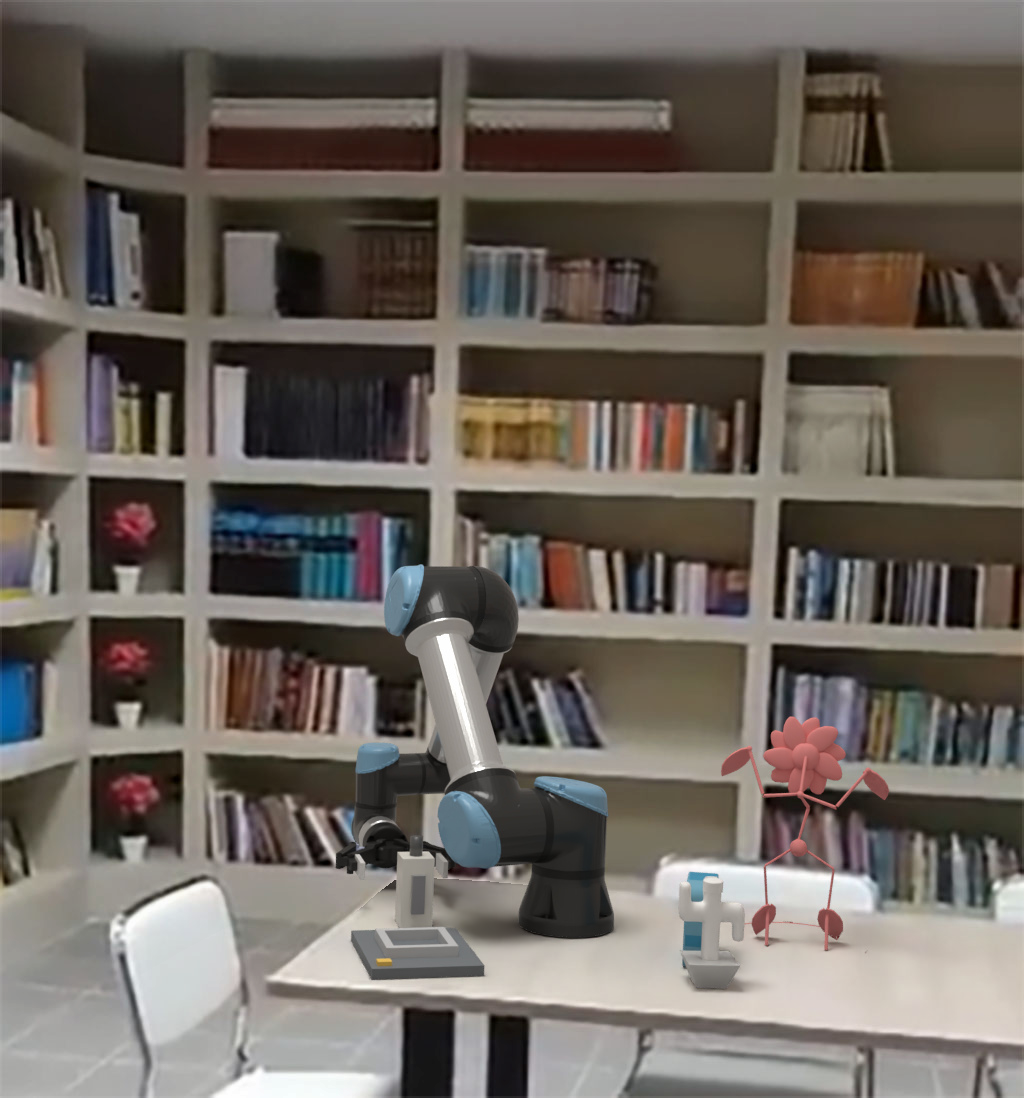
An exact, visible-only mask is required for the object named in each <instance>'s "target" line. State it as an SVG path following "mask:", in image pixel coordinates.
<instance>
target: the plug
mask: <svg viewBox="0 0 1024 1098" xmlns="http://www.w3.org/2000/svg"><path fill="white" fill-rule="evenodd" d="M409 838H410V839H409V842H410V852H397V865H396V883H395V884H396V885H395V908H394V909H395V911H394V912H395V913H394V922H395V924H396V925H397V928H421V927H433V915H434V913H433V912H434V893H435V892H434V891H435V890H434V889H435V887H434V886H435V884H434V883H435V882H434V881H435V867H434V865H435V858H434V857H433V856H432V855H431V854H430V852H429V851H428V852H423V841H424V835H421V834H411V835H410V837H409Z"/></svg>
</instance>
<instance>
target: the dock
mask: <svg viewBox="0 0 1024 1098" xmlns="http://www.w3.org/2000/svg"><path fill="white" fill-rule="evenodd" d="M350 934H351V935H350V941H351V943H352V945H353V947H354V949H355V951H356V952H357V955H358V956H359V958H360V960H361V963H363V966H364V968H365V969H366V971H367V973H368V976H369V977H370V979H371V980H375V981H376V980H402V979H430V978H431V979H435V978H437V979H439V978H458V977H459V978H463V977H485V964H484V963H483V961H481V959H480V958H479V956H478V955H477V954H476V953H475V951H474V950H473V949H472V947H471V946H470V945H469V943H468V942H467V940H466V939H465V938H464V937H463V935H462V934H461V933H460V931H458V929H457V928H456V927H445V926H432V927H421V928H399V927H394V928H393V927H389V928H387V927H386V928H385V927H384V928H374V929H364V930H363V929H361V930H359V929H358V930H351V933H350Z"/></svg>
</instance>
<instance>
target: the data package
mask: <svg viewBox="0 0 1024 1098" xmlns="http://www.w3.org/2000/svg"><path fill="white" fill-rule="evenodd" d="M707 876H714V877H718V878H719V874H718V873H715V872H714V873H713V872H700V871H699V872H698V871H689V872H688V875H687V879H686V882H689V883H690V885H691V901H692V902H701V901H703V880H704V878H705V877H707ZM682 937H683V940H682V950H684V951H701V941H702V922H687V921H683V936H682ZM681 965H682V966H683V967H685V968H686V965H685V963H684V960H683V958H682V964H681Z"/></svg>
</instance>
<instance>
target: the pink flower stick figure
mask: <svg viewBox="0 0 1024 1098" xmlns="http://www.w3.org/2000/svg"><path fill="white" fill-rule="evenodd" d="M820 724H821V722H820V719H819V718H818V717H815V716H814V717H810V718H808V719H807V720H804V722H803V723H802V724H801V722H800V721H799V719H797V718H796V717H795V716H789V717H788V718H787V719H786V720H785V723H784V724H783V730H782V731H780V730H777V729H774V730H773V731H772V732H771V734H770V740H771V741H770V742H771V745H772V746H773V748H771V749H768V750H766V751H764V753H763V755H762V756H763V759H764V761H765V762H766V763H767V764H768V765H770V766H771V767H773V770H771V774H770V779H771V781H773V782H775V783H780V784H781V783H782V784H784V783H785V784H786V783H788V784H787V789H788V792H786V793H785V792H784V793H783V792H781V793H765V791H764V787H763V784H762V780H761V777H760V774H759V772H758V768H757V764H756V761H755V758H754V755H753V751H752V750H753V747H752V746H751V745H747V746H746V747H741V748H739V749H738V750H736V751H734V752H732V753H731V754H729V756H727V757H726V758H725V759H724V761H723V763H722V764H721V770H720V773H721V777H724V776H728V775H729V774H732V773H734V772H737V771H738V770H740V769H741V768H743V767H744V766H746V764H748V762H749V761H751V766H752V768H753V771H754V774H755V778H756V781H757V785H758V788H759V792H760V794H761V795H762V796H761V797H762V798H776V797H778V798H779V797H780V798H783V797H797V798H798V799H800V800H801V801H802V803H803V805H804V806H805V807H806V808H805V812H804V816H803V819H802V823H801V826H800V829H799V832H798V837H797V838H796V839H794V840H792V841H791V843H790V845H789V849H787V850H786V851H784V852H783V853H781V854H779V855H778V856H776V857H775V858H773V859H771V860H770V861H768V862H767V863H765V864H764V866H763V881H764V898H765V899H764V901H765V904H764V905H762V906H761V907H760V908H759V909H758V910H757V911H756V912H755V913H754V915H753V917H752V918H751V922H746V923H745V922H744V925H750V924H751V927H752V931H753V932H754V934H755V935H756V936H757V935H758V934H760V933H761V932H763V931H764V932H765V933H764V946H769V939H770V938H769V937H770V936H769V934H770V932H769V931H770V925H771V924H782V923H783V924H794V925H802V926H803V925H804V926H811V927H817V928H820V929H821V930H822V932H824V948H823V950H824V951H825V952H826V951H829V937H830V938H832V939H834V940H836V941H838V939H840V936H841V935H842V933H843V932H844V922H843V920H842V919H843V918H842V917H841V916H840V915H839V914H838V913H837V912H836V911H835V909H834V910H833V909H832V908H830V907H831V901H832V895H833V894H832V892H833V887H834V878H835V871H836V870H835V867H834V866H832V865H831V864H829V863H828V862H826V861H825V860H823V859H822V858H821V857H819V856H817V855H816V854H815V853H813V852H811V851H810V850H808V845H807V843H806V842H805V840H803V839H801V838H802V835H803V832H804V829H805V826H806V823H807V819H808V816H809V813H810V811H811V808H810V807H811V805H810V804H809V803H808V802H807V801H806V799H807V800H810V801H812V802H815V803H817V804H821V805H823V806H826V807H829V808H831V809H833V810H836V811H837V808H839V807H840V806H841V805H842V804H843V803H844V802H845V800H846V799H847V798H848V797H849V796H850V795H851V793H852V792H853V791H854V790H855V789H856V788H857V787H858V786H859V785H860V783H862V781H863V782H864V784H865V785H866V787H867V788H868V789H869V790H870V791H871V792H873V794H875V795H876V796H878V797H879V798H880V799H882V800H883V801H885V800H886V799H887V798H888V795H889V793H890V788H889V785H888V784H887V781H886V780H885V779H884V778H883V777H882V776H881V775H880V774H879V773H878V772H876V771H875V770H872V769H871V767H866V768H865V769H864V770H863V771H862V775H860V777H859V778H858V779H857V780H856V782H855V783H853V785H851V787H850V788H849V789H848V791H846V793H845V794H844V795H843V796H842V797H841V798H840V800H839V801H838V802H837V803H836V804H835V805H834V804H833V803H829V802H827V801H824V800H821V799H818V798H816V797H814V796H811V795H808V794H805V793H804V792H805V791H807V789H810V791H811V792H812V793H813V794H815V795H822V793H824V791H825V788H826V786H827V780H831V781H834V782H835V781H840V780H841V779H842V778H843V771H842V767H841V766H840V764H839V761H841V760H844V759H845V758H846V755H847V754H846V753H847V752H846V751H845V750H844V749H843V747H841V746H840V745H839V744H836V743H835V741H836V739H837V738H838V735H839V731H838V728H836V727H835V726H830V725H824V726H821V725H820ZM788 853H790V854H791V855H792V856H794V857H797V858H799V857H803V856H805V855H806V854H809V856H812V857H813V858H814V859H816V860H818V861H819V862H821V863H822V864H824V865H825V866H827V867H829V868H830V869H832V870H831V877H830V885H829V892H828V898H827V899H828V900H827V905H826V906H827V907H826V909H825V907H823V908H821V909H820V910H819V911H818V914H817V918H816V919H817V922H818V925H815V924H809V923H801V922H799V923H798V922H793V921H785V920H783V921H774V920H775V918H776V915H777V907H776V905H774V904H773V903H769V899H768V879H767V866H769V865H771V864H772V863H773V862H775V861H777V860H778V859H780V858H782V857H783V856H785V855H787V854H788ZM867 952H868V950H866V951H865V952H864V953H865V954H866V953H867Z"/></svg>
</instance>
